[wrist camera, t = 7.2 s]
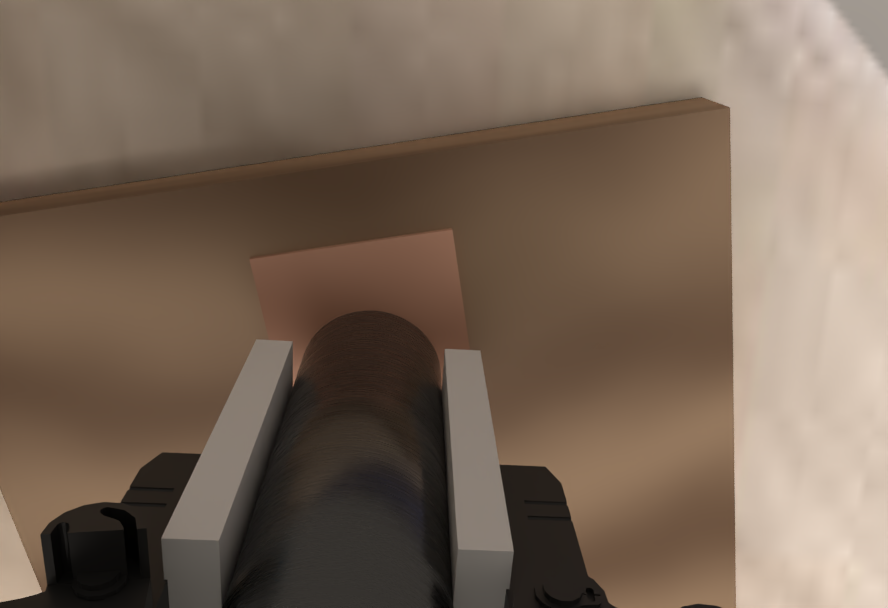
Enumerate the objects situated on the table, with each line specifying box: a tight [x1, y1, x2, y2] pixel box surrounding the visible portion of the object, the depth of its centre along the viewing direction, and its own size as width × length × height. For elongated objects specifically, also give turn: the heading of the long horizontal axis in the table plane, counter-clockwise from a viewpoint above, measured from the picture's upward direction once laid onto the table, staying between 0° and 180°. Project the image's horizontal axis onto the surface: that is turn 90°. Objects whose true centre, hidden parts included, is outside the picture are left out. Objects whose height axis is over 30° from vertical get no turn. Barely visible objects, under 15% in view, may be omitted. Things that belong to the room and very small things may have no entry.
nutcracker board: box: [0, 97, 736, 608], centre depth 23 cm, size 24×20×5 cm
